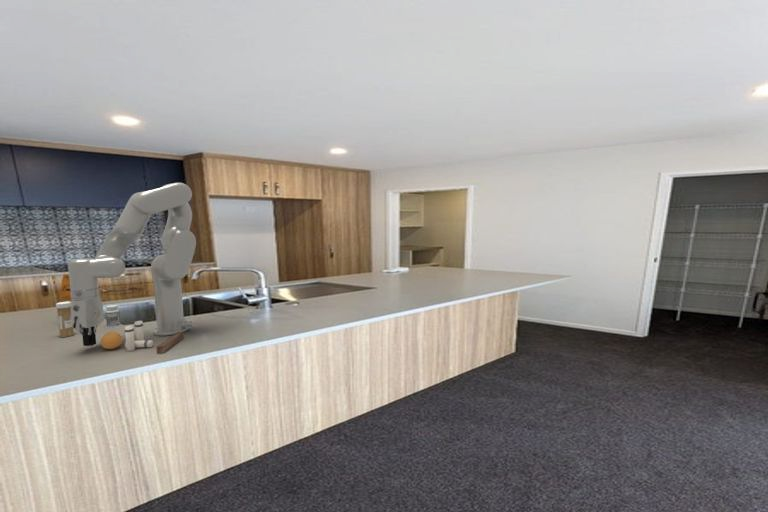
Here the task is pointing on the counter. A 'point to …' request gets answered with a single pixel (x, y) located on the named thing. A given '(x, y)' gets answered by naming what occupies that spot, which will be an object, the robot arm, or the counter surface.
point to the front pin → (143, 343)
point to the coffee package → (65, 289)
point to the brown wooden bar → (169, 342)
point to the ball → (111, 340)
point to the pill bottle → (112, 315)
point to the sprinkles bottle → (64, 319)
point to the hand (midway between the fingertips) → (89, 344)
